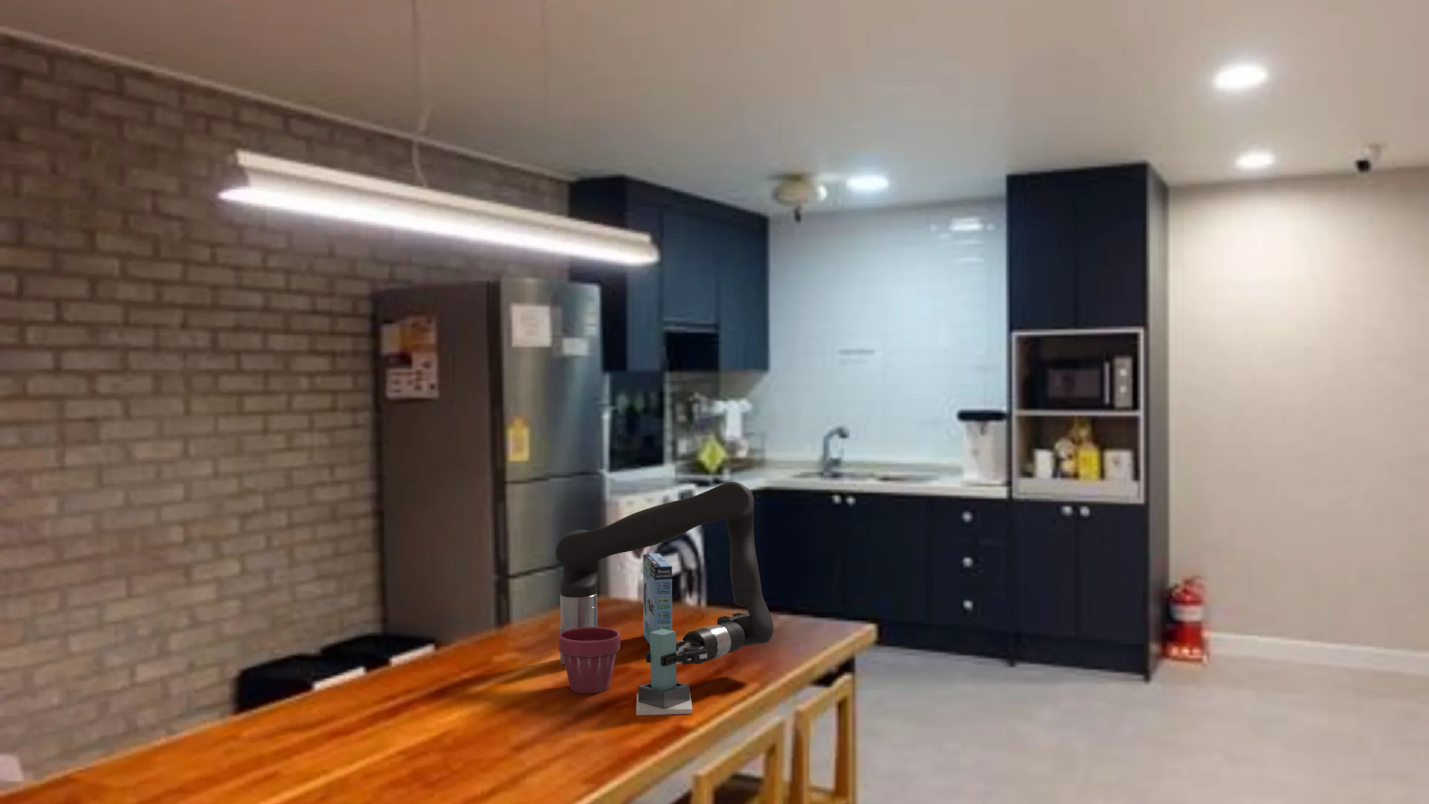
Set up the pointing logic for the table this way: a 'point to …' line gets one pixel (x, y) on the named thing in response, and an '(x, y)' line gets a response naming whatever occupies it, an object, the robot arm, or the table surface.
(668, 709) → the base board
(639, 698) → the metal collar
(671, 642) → the teal peg
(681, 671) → the table surface
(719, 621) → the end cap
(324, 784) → the table surface
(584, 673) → the plant pot
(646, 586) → the light blue cardboard box
